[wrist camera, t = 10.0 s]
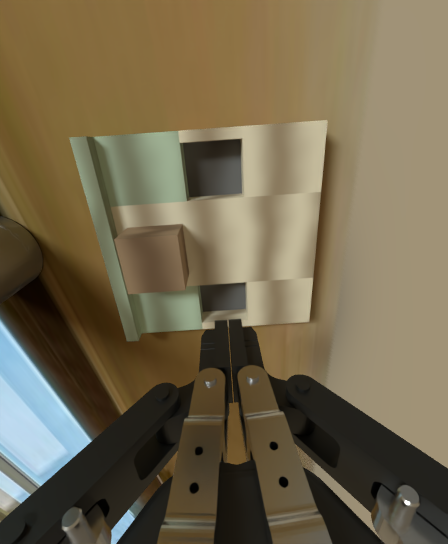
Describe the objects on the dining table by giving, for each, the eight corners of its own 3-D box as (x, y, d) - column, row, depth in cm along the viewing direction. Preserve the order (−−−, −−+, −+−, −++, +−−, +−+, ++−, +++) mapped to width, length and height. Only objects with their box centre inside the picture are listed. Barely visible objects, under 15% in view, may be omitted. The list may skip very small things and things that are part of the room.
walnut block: (182, 223, 28) (177, 234, 25) (189, 273, 31) (185, 290, 27) (127, 227, 28) (114, 239, 25) (138, 277, 31) (128, 294, 27)
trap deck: (316, 122, 27) (334, 118, 23) (302, 309, 37) (312, 328, 33) (91, 139, 27) (69, 137, 23) (136, 320, 37) (127, 341, 33)
